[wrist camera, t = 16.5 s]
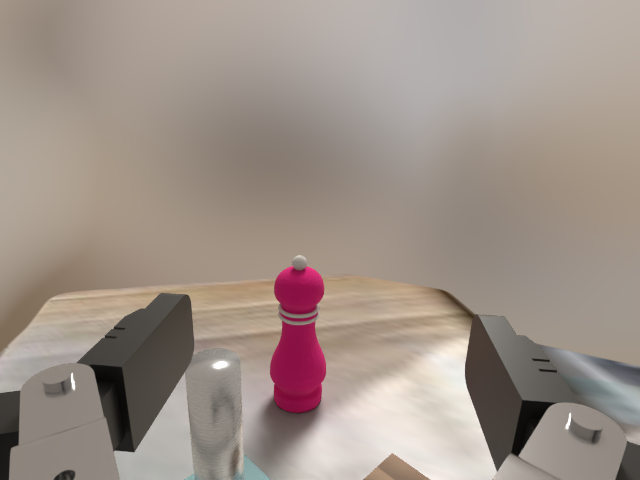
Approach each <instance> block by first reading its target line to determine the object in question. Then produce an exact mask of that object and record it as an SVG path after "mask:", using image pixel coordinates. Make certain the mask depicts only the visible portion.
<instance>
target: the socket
mask: <svg viewBox="0 0 640 480" xmlns="http://www.w3.org/2000/svg"><path fill="white" fill-rule="evenodd" d="M184 480H195V479H194V474H192V475H191V476H189V477H188V478H186V479H184ZM244 480H270V479H269V478H268V477H267V476H266V475H265V474H264V473H263V472H262V471H261V470H260V469H259V468H258V467H257V466H256V465H255V464H254V463H253V462H252V461H251V460H250V459H249V458H248V457H247V456H246V455H245V454H244Z"/></svg>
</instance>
